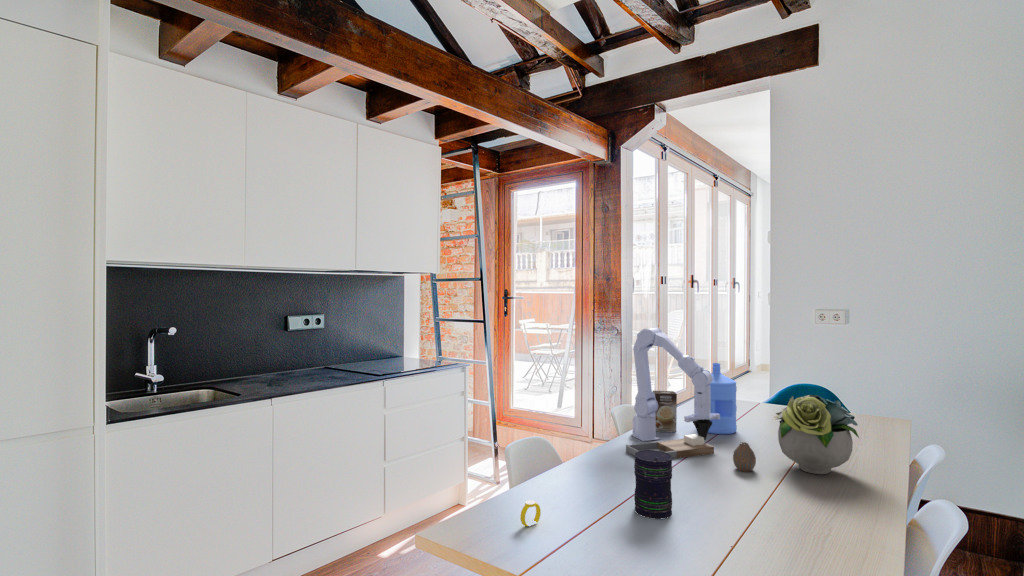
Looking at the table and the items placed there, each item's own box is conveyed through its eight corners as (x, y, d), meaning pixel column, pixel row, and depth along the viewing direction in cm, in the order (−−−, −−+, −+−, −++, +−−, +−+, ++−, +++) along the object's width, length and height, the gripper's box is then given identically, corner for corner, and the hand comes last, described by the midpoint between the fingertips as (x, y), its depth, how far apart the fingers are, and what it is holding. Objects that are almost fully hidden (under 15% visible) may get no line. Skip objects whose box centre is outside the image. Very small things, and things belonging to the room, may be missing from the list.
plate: (656, 448, 196) (656, 441, 196) (692, 444, 201) (692, 437, 201) (676, 458, 184) (676, 451, 184) (713, 453, 189) (713, 446, 189)
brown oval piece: (758, 469, 173) (758, 443, 173) (751, 475, 168) (751, 447, 168) (737, 464, 178) (737, 438, 178) (729, 470, 172) (729, 443, 173)
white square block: (683, 441, 195) (683, 435, 195) (695, 440, 197) (695, 434, 197) (692, 445, 191) (692, 438, 191) (704, 444, 192) (704, 437, 192)
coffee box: (654, 431, 219) (654, 393, 219) (651, 427, 225) (651, 390, 225) (677, 432, 218) (677, 393, 218) (673, 428, 224) (673, 390, 224)
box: (626, 451, 191) (626, 445, 191) (656, 448, 196) (656, 441, 196) (644, 462, 180) (644, 455, 180) (676, 458, 184) (676, 451, 184)
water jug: (702, 423, 232) (702, 360, 232) (740, 428, 223) (740, 363, 223) (692, 431, 220) (691, 364, 220) (731, 437, 210) (731, 367, 211)
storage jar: (631, 503, 146) (631, 449, 146) (666, 503, 145) (666, 450, 145) (638, 519, 136) (638, 461, 136) (676, 519, 135) (676, 461, 135)
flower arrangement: (777, 453, 189) (777, 386, 189) (861, 467, 175) (860, 394, 175) (765, 473, 169) (765, 397, 169) (858, 490, 154) (857, 408, 155)
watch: (526, 531, 130) (525, 508, 129) (518, 527, 132) (517, 504, 131) (543, 522, 134) (542, 499, 133) (535, 519, 136) (534, 496, 135)
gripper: (693, 407, 189) (693, 444, 189) (725, 404, 194) (725, 440, 194) (680, 403, 196) (680, 439, 196) (712, 400, 200) (712, 435, 200)
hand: (702, 439), depth 195 cm, fingers closed
